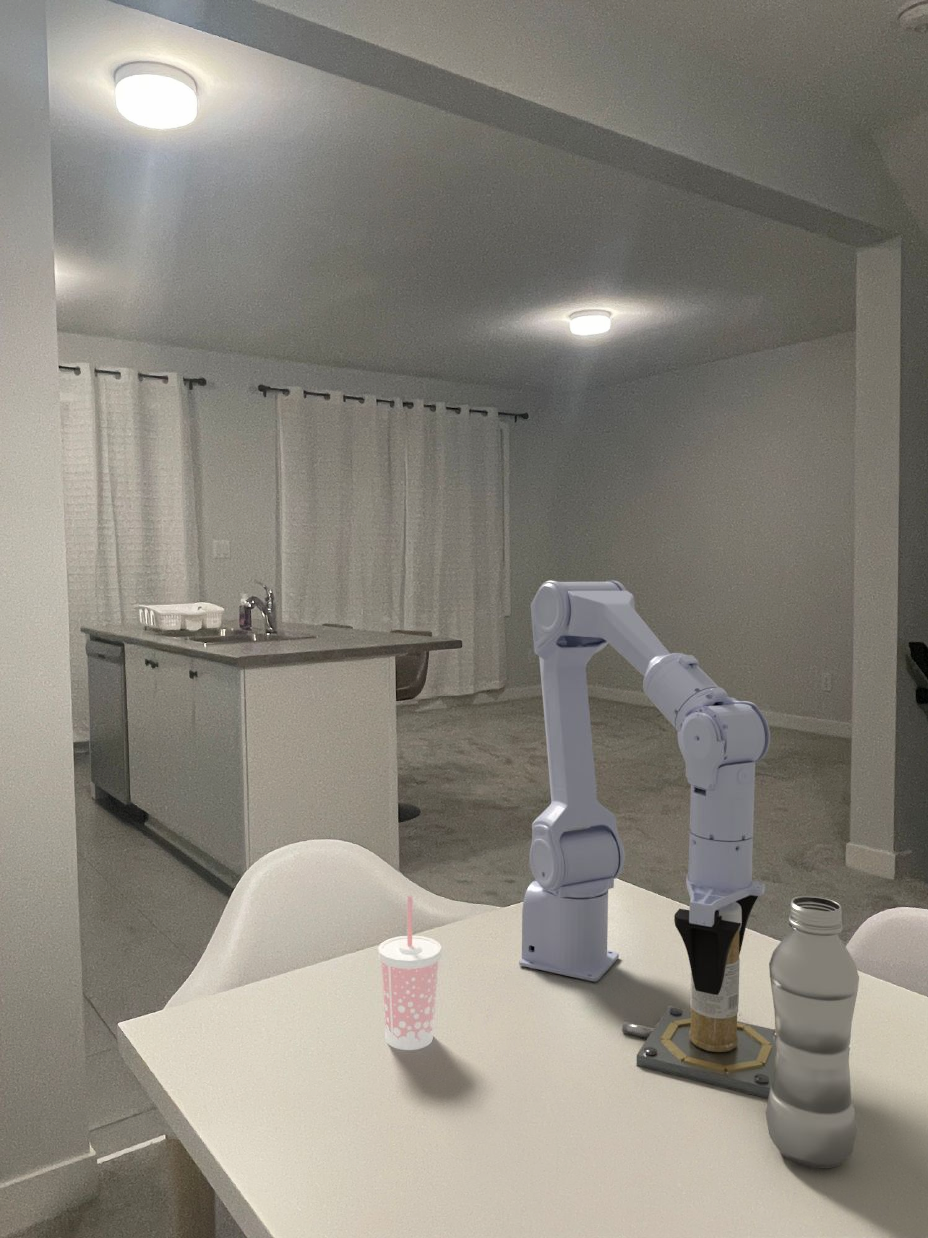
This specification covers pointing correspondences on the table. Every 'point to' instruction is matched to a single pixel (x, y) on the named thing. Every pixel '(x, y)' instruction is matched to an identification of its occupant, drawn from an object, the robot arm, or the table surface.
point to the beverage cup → (409, 987)
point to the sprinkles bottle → (719, 999)
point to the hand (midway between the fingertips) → (717, 975)
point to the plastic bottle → (813, 1037)
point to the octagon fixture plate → (708, 1054)
